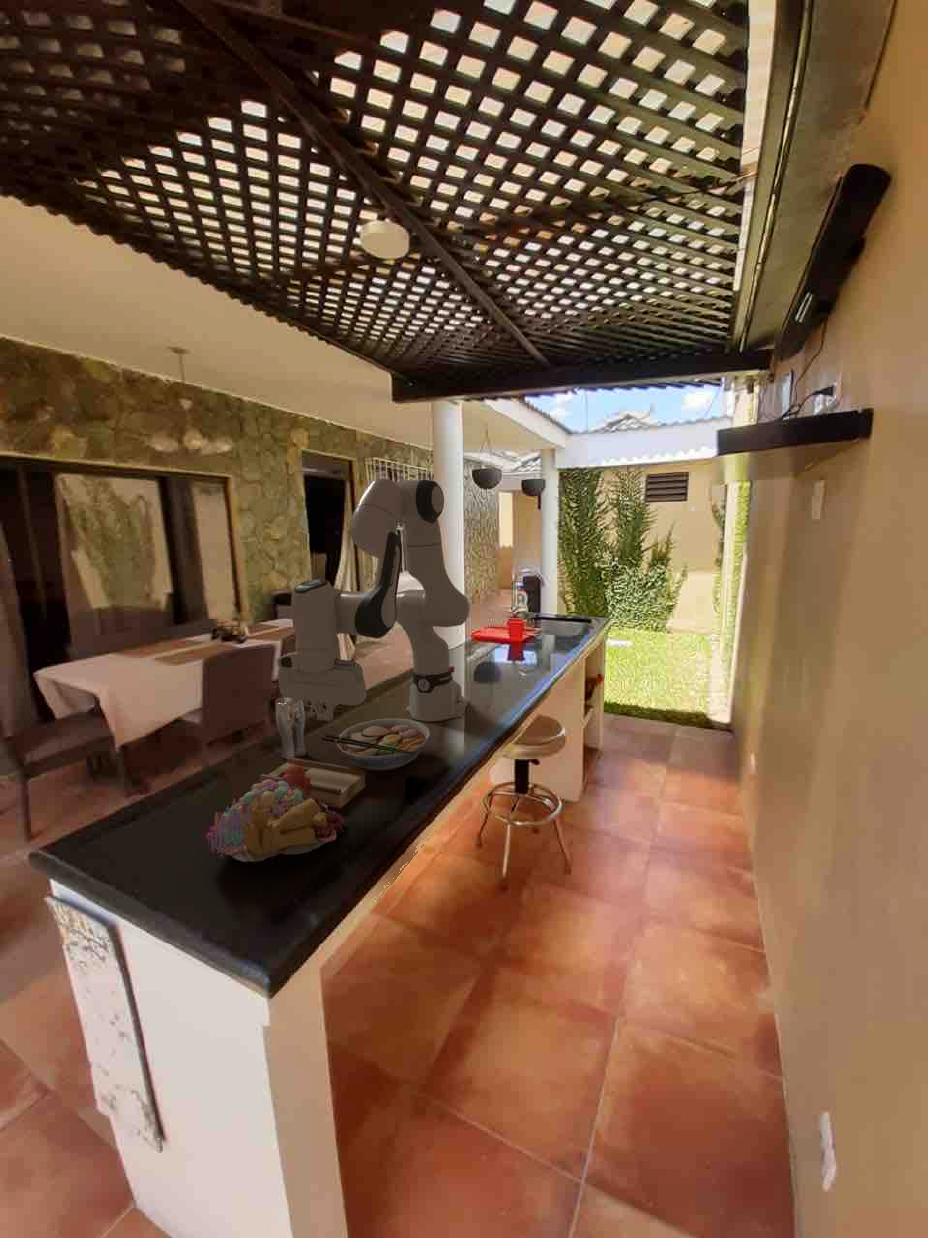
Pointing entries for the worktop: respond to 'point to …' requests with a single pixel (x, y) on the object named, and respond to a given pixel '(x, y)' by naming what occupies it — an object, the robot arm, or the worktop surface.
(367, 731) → the ramen bowl
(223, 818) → the pastel sphere sculpture
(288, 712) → the beer glass
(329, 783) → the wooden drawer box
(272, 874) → the worktop surface
